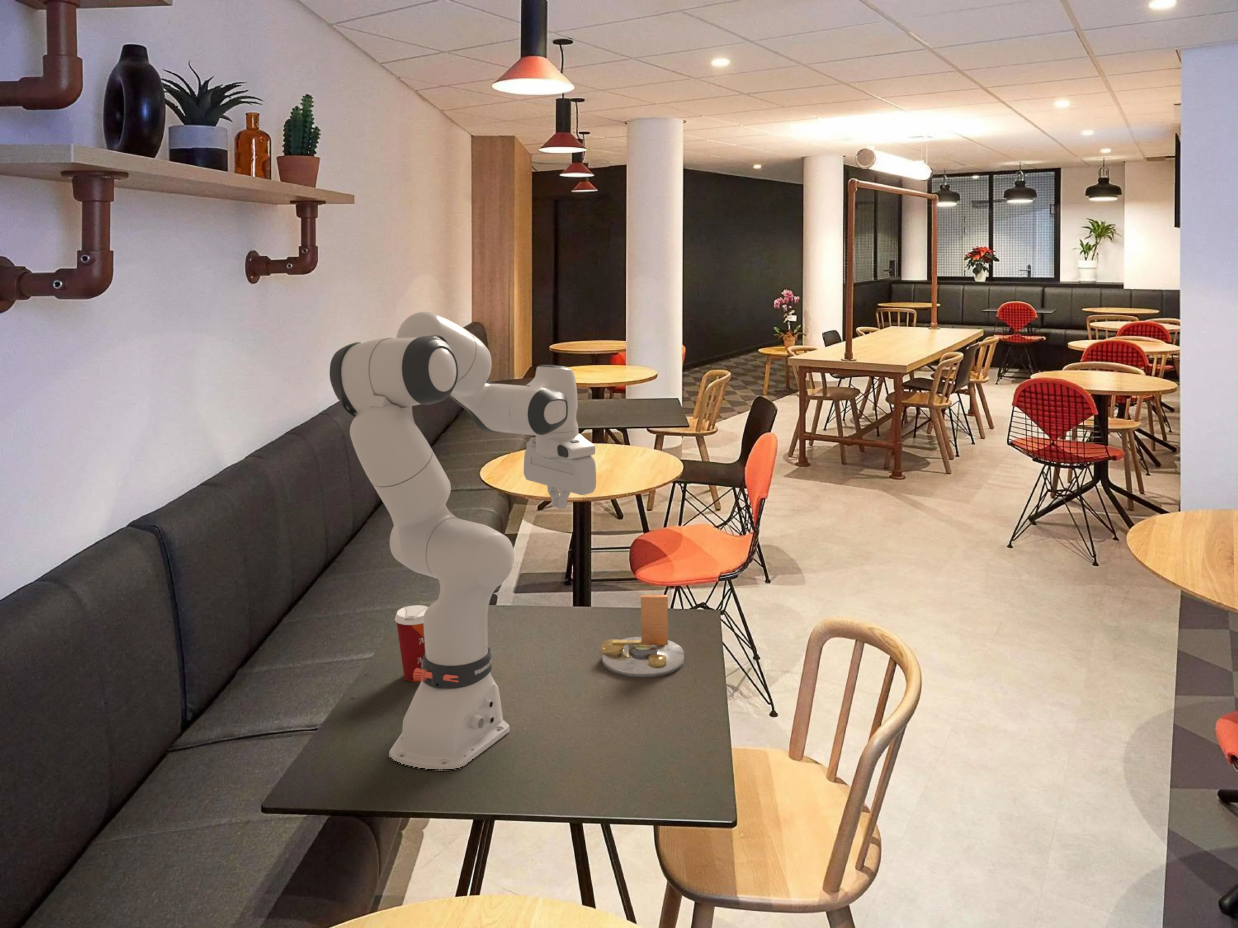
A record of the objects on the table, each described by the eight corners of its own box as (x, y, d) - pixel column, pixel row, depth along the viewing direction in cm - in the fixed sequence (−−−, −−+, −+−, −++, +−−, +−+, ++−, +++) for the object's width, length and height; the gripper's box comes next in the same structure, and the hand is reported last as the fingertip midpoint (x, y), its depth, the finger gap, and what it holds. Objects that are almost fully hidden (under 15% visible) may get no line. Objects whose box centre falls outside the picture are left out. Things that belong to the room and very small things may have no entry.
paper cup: (433, 684, 190) (428, 618, 187) (394, 684, 190) (389, 618, 187) (441, 667, 198) (437, 603, 194) (404, 667, 198) (399, 603, 195)
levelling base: (671, 682, 189) (671, 667, 188) (590, 671, 194) (590, 657, 194) (692, 648, 205) (692, 634, 204) (617, 639, 210) (617, 625, 209)
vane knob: (600, 656, 197) (599, 600, 194) (601, 646, 202) (600, 592, 199) (668, 655, 197) (667, 600, 194) (667, 646, 201) (667, 591, 199)
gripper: (515, 438, 202) (517, 501, 206) (576, 452, 188) (578, 520, 191) (539, 434, 207) (541, 495, 210) (600, 447, 192) (602, 513, 195)
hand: (559, 507), depth 200 cm, fingers closed
